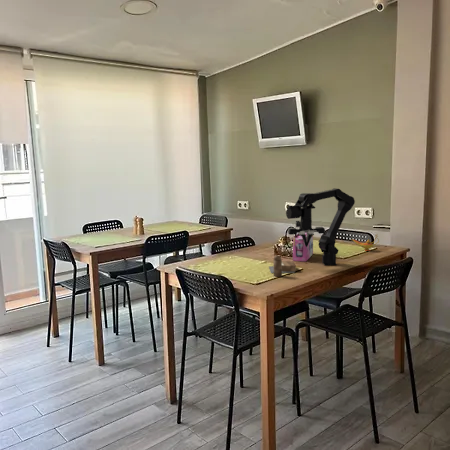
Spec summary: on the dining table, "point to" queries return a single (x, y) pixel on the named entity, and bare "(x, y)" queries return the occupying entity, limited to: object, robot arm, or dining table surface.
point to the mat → (282, 271)
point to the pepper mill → (277, 266)
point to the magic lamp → (366, 244)
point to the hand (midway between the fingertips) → (306, 246)
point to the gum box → (302, 248)
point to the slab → (288, 266)
